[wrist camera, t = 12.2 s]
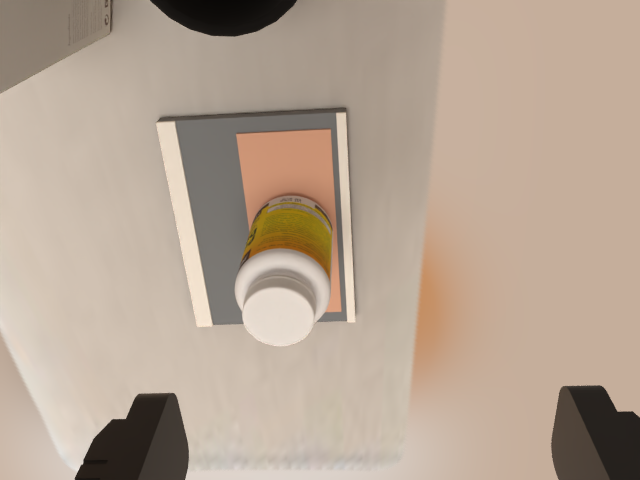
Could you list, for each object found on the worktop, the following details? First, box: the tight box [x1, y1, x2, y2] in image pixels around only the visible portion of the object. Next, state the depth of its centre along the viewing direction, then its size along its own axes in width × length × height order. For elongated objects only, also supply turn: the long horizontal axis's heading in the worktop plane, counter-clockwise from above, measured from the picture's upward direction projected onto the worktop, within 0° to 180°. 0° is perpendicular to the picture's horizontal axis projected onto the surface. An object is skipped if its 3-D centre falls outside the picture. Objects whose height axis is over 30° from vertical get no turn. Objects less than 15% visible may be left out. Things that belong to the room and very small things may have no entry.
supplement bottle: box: [235, 196, 333, 346], centre depth 37 cm, size 6×6×10 cm
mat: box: [156, 108, 355, 327], centre depth 42 cm, size 12×16×1 cm
